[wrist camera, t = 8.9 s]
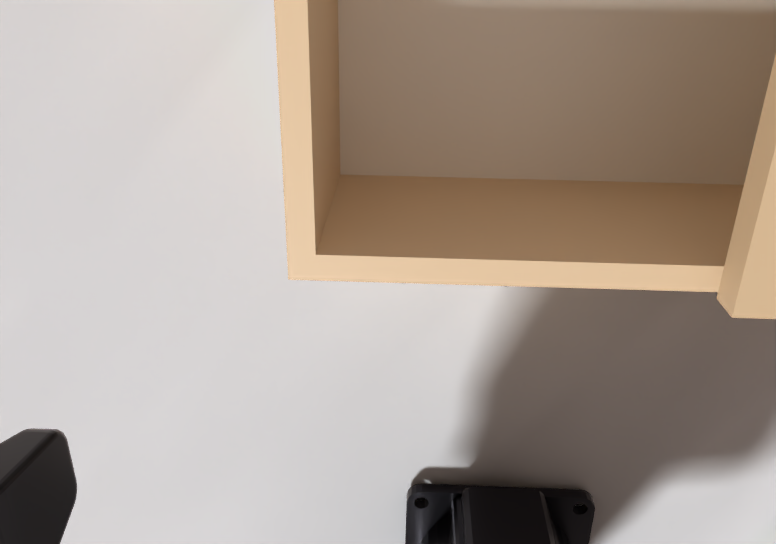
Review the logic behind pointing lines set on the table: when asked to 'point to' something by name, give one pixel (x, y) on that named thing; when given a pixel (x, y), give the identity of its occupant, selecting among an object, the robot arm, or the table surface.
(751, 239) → the mailer lid
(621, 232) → the mailer box
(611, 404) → the table surface
